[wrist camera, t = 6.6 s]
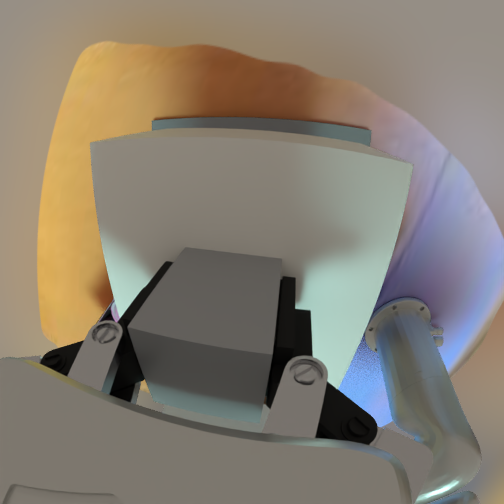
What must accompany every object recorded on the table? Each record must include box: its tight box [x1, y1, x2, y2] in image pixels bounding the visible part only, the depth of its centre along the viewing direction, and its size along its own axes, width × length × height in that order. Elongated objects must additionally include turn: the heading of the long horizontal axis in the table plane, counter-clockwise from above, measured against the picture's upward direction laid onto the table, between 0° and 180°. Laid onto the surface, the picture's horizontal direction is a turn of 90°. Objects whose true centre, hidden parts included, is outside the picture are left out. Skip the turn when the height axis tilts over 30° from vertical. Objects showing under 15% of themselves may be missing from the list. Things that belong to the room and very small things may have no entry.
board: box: [152, 117, 371, 147], centre depth 34 cm, size 28×16×1 cm, turn 88°
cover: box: [90, 128, 413, 423], centre depth 13 cm, size 13×13×13 cm
